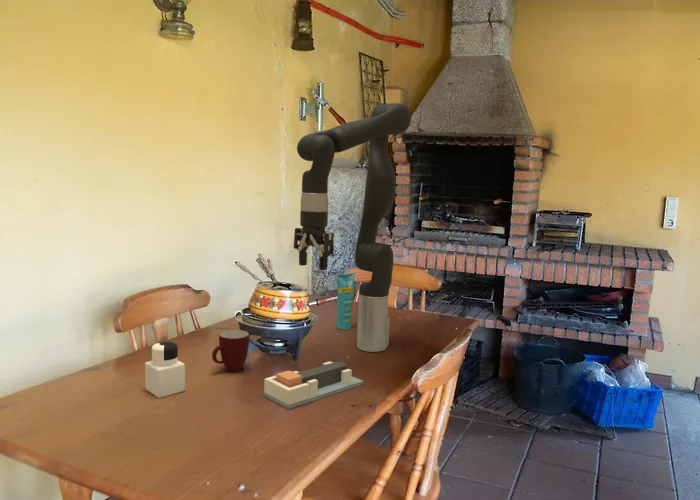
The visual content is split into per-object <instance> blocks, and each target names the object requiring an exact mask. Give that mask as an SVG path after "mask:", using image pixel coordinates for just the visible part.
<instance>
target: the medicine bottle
mask: <svg viewBox="0 0 700 500" xmlns="http://www.w3.org/2000/svg"><path fill="white" fill-rule="evenodd" d="M178 349H179V348H178V345H177V343H175V342H173V341H159V342H157V343H155V344H153V345H152V346H151V360H149V361H146V362H144V373H145V374H144V375H145V376H144V379H145V381H144V382H145V384H144V385H145V390H146V391H148V392H149V393H150V394H152V395H153V396H155V397H157V398H158V399H159V398H160V399H161V398H164V397H169V396H171V395H175V394H179V393H182V392H185V391H186V365H185V363H184V362H182V361H180V360H178V359H179V357H178V355H179V354H178V353H179V352H178V351H179V350H178Z"/></svg>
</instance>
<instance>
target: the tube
mask: <svg viewBox="0 0 700 500" xmlns="http://www.w3.org/2000/svg"><path fill="white" fill-rule="evenodd" d="M355 274H356V273H355V272H352V273H351V272H350V273H346V274H337V278H336V279H337V281H336V282H337V283H336V284H337V301H336V305H337V309H336V311H337V312H336V328H337V329H339V330H351V327H352V317H353V316H352V315H353V312H352V311H353V310H352V309H353V299H354V298H353V297H354V287H355Z"/></svg>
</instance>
